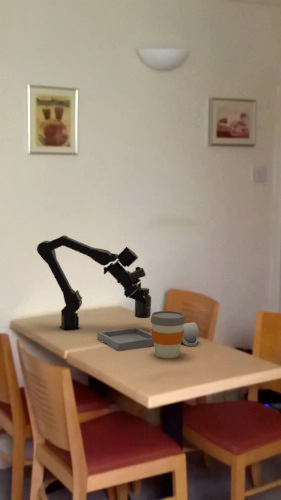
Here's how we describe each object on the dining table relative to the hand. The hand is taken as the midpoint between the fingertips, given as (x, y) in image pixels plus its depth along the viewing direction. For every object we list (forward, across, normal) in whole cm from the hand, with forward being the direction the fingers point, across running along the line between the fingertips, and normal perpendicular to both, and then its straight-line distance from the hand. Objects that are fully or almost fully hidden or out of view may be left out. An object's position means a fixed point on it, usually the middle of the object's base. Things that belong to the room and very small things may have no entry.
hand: (146, 301), depth 267 cm
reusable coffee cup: (+16, -34, +2) cm, 37 cm away
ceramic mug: (+21, -17, -4) cm, 27 cm away
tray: (+5, -19, +13) cm, 23 cm away
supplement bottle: (+4, 0, +6) cm, 7 cm away
